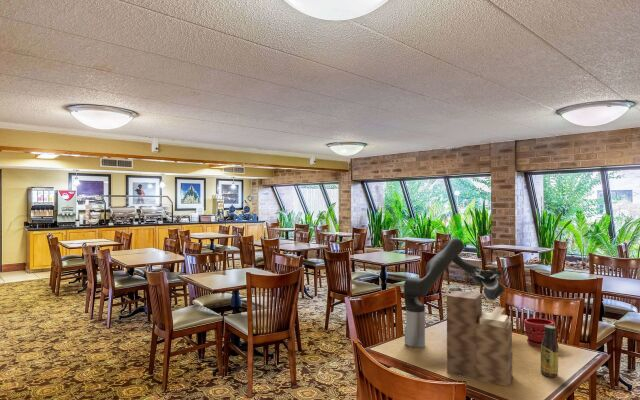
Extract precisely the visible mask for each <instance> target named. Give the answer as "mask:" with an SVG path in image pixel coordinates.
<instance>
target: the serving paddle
mask: <svg viewBox="0 0 640 400" xmlns="http://www.w3.org/2000/svg"><path fill="white" fill-rule="evenodd" d="M505 310H506V308H505V307H500V306H499V307H498V306H496V307H494V309H493V311H492V312H486V311H485V312H482V316H481V317H480V324H481V325H488V326H494V327H500V328H505V326H506V324H507V322H508V321H509V318H508V317H509V316H508V315H507V314H506V311H505Z"/></svg>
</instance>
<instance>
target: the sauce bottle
mask: <svg viewBox="0 0 640 400" xmlns="http://www.w3.org/2000/svg"><path fill="white" fill-rule="evenodd" d="M544 330H545V335H544V338H543V341H542V343H541V347H540V373H541V375H542V376H545V377H549V378H556V377H558V375H559V374H558V373H559V344H558V341H557V339H556V330H557V328H556V326H555V325H554V326H550V325H545V326H544Z"/></svg>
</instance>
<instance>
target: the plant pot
mask: <svg viewBox="0 0 640 400" xmlns="http://www.w3.org/2000/svg"><path fill="white" fill-rule="evenodd" d="M523 323H524V331H525V334H526V336H527V339H526V342H527V343H528V344H529V345H531V347H537V348H541V343H542V341H543V338H544V335H545V330H544V326H545V325H550V326H554V327H555V322H554V321H552V320H550V319H545V318H539V317H538V318H537V317H529V318H525V319H524V321H523Z"/></svg>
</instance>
